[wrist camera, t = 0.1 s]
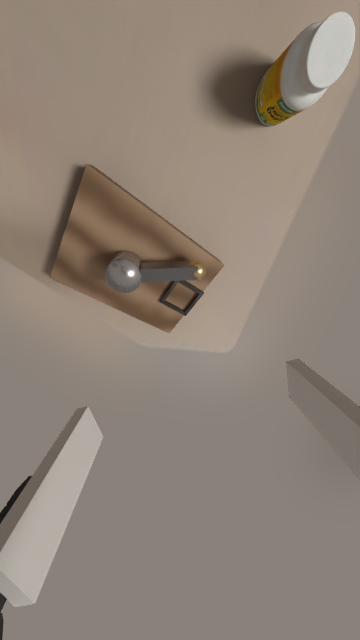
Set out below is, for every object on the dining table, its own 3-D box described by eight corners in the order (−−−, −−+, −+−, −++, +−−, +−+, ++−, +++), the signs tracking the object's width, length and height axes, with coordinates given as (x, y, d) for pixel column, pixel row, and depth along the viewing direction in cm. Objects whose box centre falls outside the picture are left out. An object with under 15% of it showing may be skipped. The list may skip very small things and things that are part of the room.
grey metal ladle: (115, 280, 32) (109, 294, 28) (109, 251, 29) (101, 261, 25) (201, 277, 33) (207, 289, 29) (203, 248, 30) (210, 257, 26)
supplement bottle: (302, 66, 22) (380, -1, 14) (286, 129, 25) (343, 102, 17) (260, 60, 22) (317, -11, 14) (248, 125, 25) (290, 96, 17)
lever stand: (93, 166, 26) (84, 162, 23) (219, 260, 35) (225, 267, 32) (57, 271, 33) (47, 279, 30) (168, 325, 43) (169, 335, 40)
